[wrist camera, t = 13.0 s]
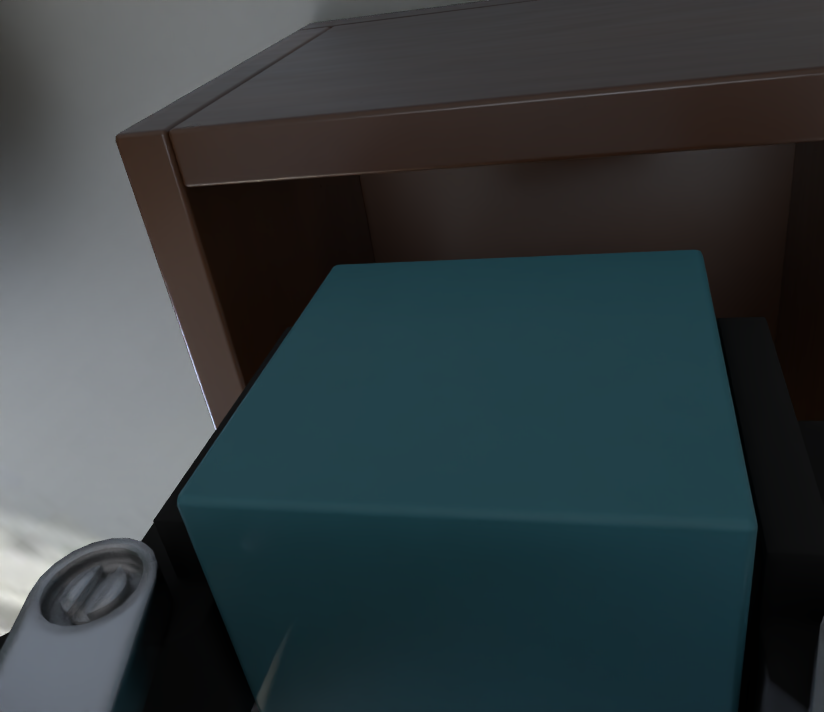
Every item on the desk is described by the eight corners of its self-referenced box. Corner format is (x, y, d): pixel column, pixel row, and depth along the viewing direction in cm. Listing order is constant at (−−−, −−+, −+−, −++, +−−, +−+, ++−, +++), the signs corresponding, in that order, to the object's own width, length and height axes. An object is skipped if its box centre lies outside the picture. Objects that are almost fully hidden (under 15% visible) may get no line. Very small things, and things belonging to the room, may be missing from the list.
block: (702, 246, 9) (760, 525, 5) (690, 534, 12) (723, 868, 8) (333, 262, 10) (169, 499, 7) (389, 519, 13) (292, 803, 9)
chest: (307, 22, 19) (110, 134, 12) (854, -48, 16) (1055, 45, 8) (397, 467, 26) (310, 711, 19) (787, 479, 23) (866, 777, 16)
